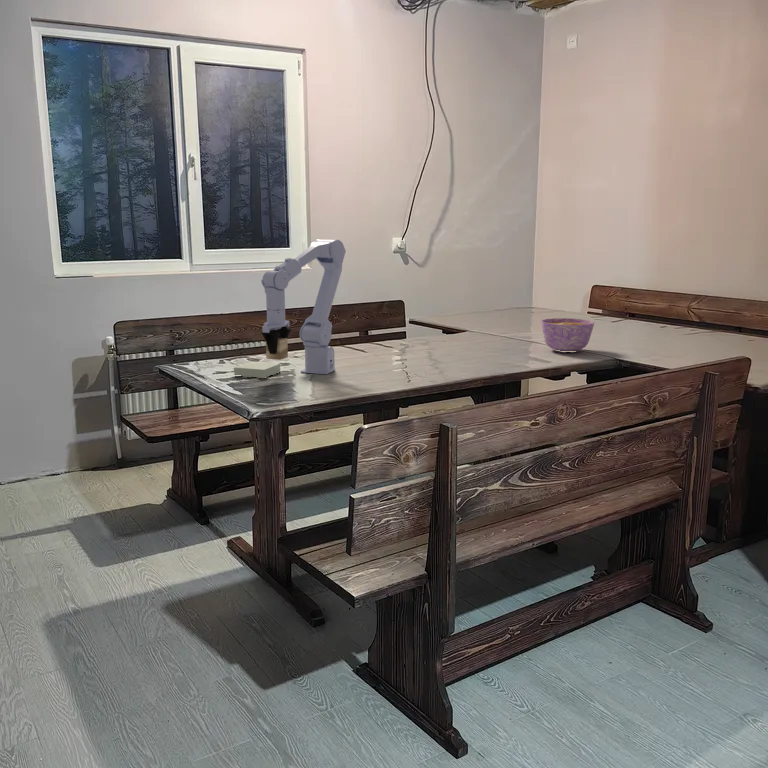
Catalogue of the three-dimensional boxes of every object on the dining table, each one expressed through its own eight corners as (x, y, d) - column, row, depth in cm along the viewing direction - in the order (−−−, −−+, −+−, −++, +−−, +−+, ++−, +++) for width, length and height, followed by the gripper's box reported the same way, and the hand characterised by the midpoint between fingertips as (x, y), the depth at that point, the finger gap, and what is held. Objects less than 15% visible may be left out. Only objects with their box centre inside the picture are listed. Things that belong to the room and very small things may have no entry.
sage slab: (280, 372, 256) (280, 363, 255) (264, 378, 246) (264, 369, 245) (251, 370, 260) (250, 361, 259) (234, 376, 250) (234, 367, 249)
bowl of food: (588, 347, 305) (590, 318, 303) (596, 356, 286) (598, 325, 284) (537, 346, 307) (538, 317, 305) (542, 355, 288) (543, 324, 285)
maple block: (287, 357, 245) (287, 338, 244) (280, 359, 240) (280, 340, 239) (273, 356, 246) (273, 337, 245) (266, 358, 242) (265, 339, 241)
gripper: (275, 306, 248) (276, 347, 251) (253, 311, 235) (254, 355, 238) (295, 307, 246) (296, 349, 249) (273, 312, 232) (275, 356, 235)
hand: (277, 352), depth 243 cm, fingers closed on maple block, 5 cm apart
